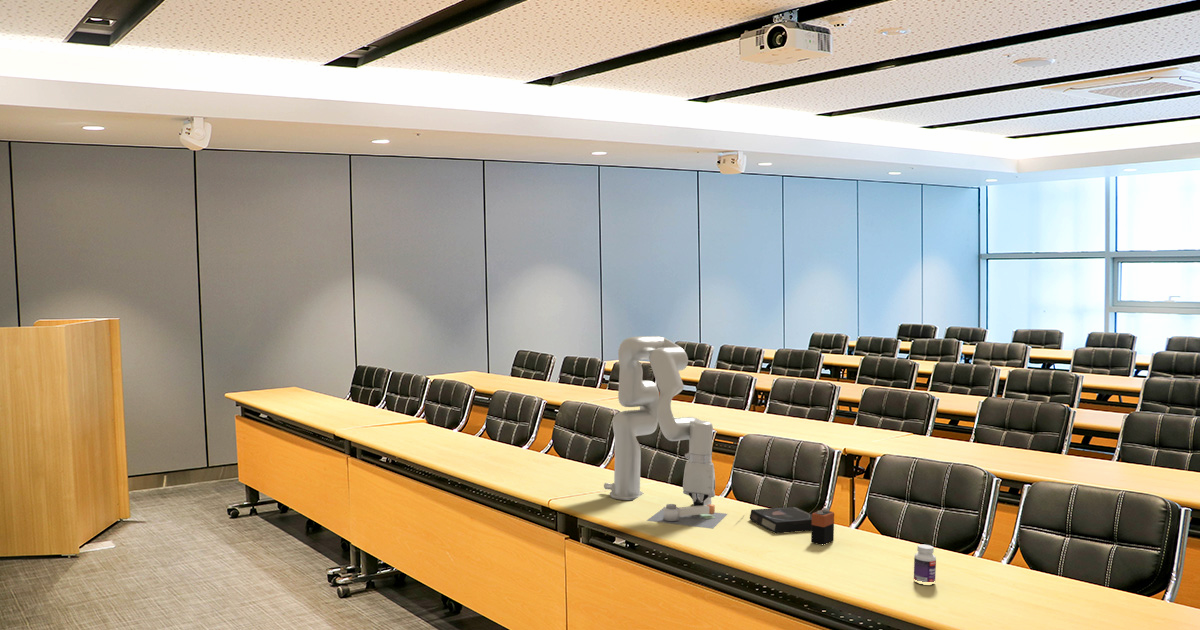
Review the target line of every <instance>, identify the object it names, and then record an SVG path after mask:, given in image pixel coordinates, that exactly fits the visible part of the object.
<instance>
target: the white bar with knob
mask: <svg viewBox="0 0 1200 630" xmlns="http://www.w3.org/2000/svg"><path fill="white" fill-rule="evenodd" d="M665 505H666V506H664V507H663V508H662V509H663V519H664V520H666V521H678V520H679V516H688V515H699V514H714V513H715V512H716V511H715V510H716V509H715V506H716V505H715V504H712V503H711V504H708V505H702V506H694V505H692V506H678V507H677V504H675V503H667V504H665Z"/></svg>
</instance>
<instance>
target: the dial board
mask: <svg viewBox="0 0 1200 630" xmlns="http://www.w3.org/2000/svg"><path fill="white" fill-rule="evenodd" d="M727 515H728V513H723V512H716V511H715V513H714V514H699V515H688V516H679V520H678V521H666V520H664V519H663V508H661V509H660V510H659V511H657V512H656V513H655V514H654V515H652V516H651V517H649V518H648V519H647V520H646V522H655V523H662V524H663V523H664V524H672V525H679V526H688V527H697V528H703V529H704V528H705V529H714V528H715V527H717V526H718V524H719V523H721V522H722V520H724V518H725V517H727Z"/></svg>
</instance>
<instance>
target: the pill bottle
mask: <svg viewBox="0 0 1200 630" xmlns="http://www.w3.org/2000/svg"><path fill="white" fill-rule="evenodd" d="M934 550H935V549H934V546H932V545H930V544H925V543H924V544H918V545H917V549H916V551H917V552H916V553H915V554H914V558H913V559H914V560H913V580H914V579H915V580H917V581H922V582H934V581H935V582H936V571H937V569H936V567H937V558H936V557H937V556H935V555H934Z"/></svg>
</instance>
